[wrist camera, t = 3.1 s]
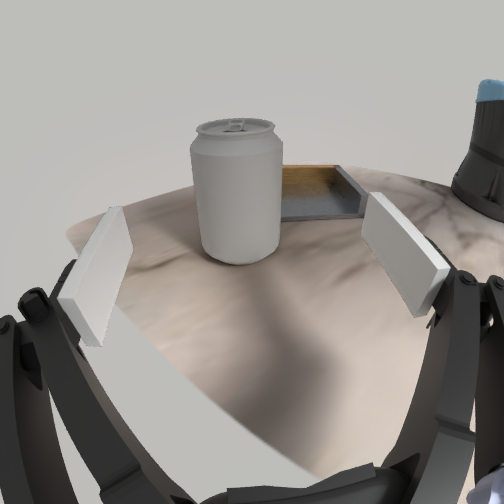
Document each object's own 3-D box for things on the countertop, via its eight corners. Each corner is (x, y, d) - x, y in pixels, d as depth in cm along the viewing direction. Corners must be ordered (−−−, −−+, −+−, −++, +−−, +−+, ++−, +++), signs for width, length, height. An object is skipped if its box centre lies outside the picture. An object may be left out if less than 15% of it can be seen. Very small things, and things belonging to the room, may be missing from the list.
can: (196, 270, 25) (176, 136, 18) (209, 225, 31) (198, 117, 24) (281, 271, 25) (287, 132, 18) (277, 225, 31) (280, 114, 24)
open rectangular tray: (336, 183, 40) (338, 165, 38) (364, 217, 32) (368, 195, 30) (256, 186, 39) (255, 166, 37) (265, 222, 31) (266, 198, 29)
